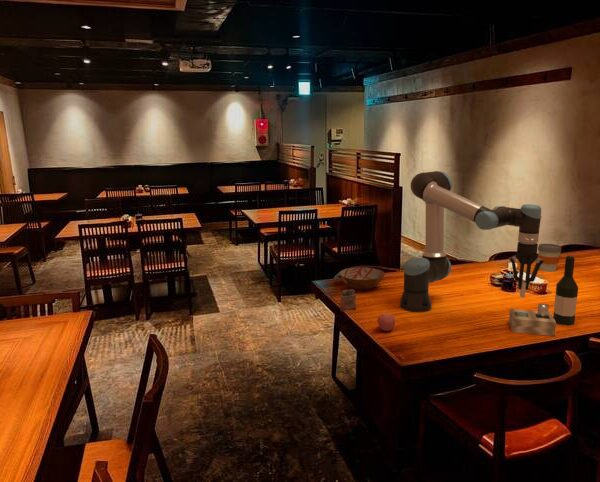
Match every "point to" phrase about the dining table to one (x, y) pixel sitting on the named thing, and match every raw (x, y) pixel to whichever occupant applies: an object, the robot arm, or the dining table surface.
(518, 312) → the teal peg
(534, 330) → the socket block
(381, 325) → the apple
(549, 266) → the reusable coffee cup
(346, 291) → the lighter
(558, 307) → the wine bottle
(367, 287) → the bowl
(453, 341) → the dining table surface
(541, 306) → the steel peg
